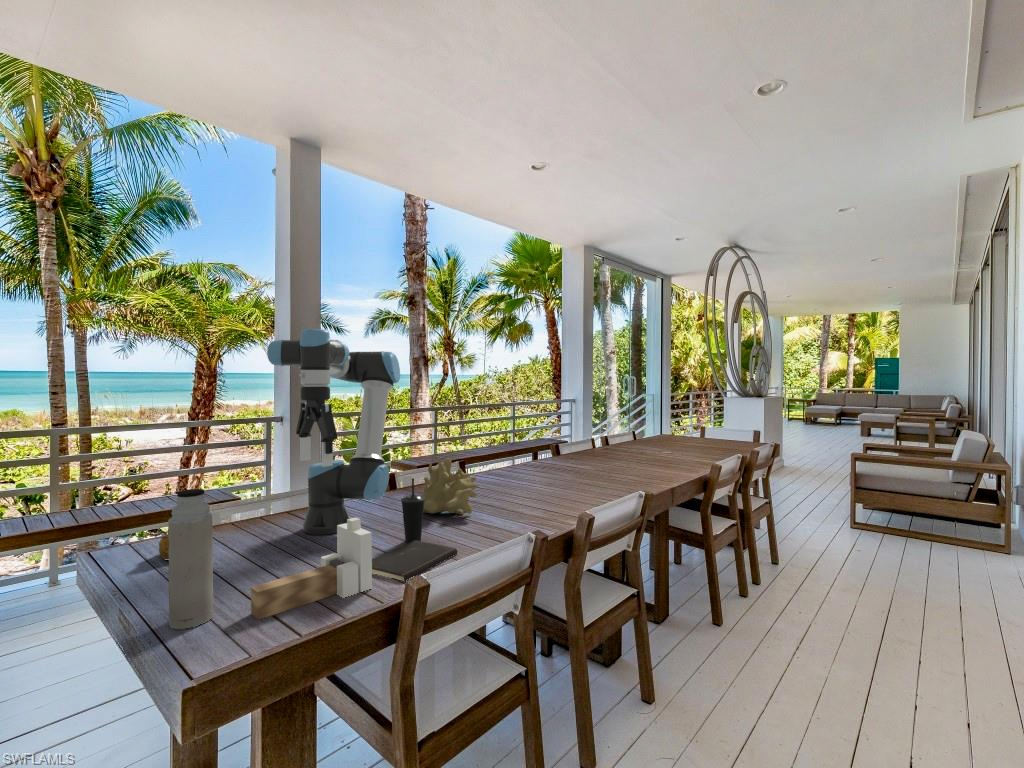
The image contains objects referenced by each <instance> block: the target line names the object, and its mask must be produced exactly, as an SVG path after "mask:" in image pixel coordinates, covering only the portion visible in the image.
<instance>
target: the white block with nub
mask: <svg viewBox="0 0 1024 768" xmlns="http://www.w3.org/2000/svg"><path fill="white" fill-rule="evenodd" d="M361 519H362V518H359V517H352V518H349V519H347V523H345V524H341V525H337V533H336V537H337V538H336V548H337V549H336V550H337V551H336V552H337V553H336V552H333V553H331V554H327V555H322V556H321V557H320V567H323V566H326V565H330V561H331V560H335V559H339V560H341V561H343V562H344V564H341V565H338V566H337V594H336V595H337V596H338V595H339V596H340V597H339V596H338V597H339V598H341V597H342V598H341V599H343V598H344V599H346V598H345V597H347V598H349V597H352V596H355V595H357V593H358V594H359V593H360V592H363V591H365V592H367V591H366V590H368V591H370V590H369V589H371V590H373V574H372V559H373V549H372V548H373V545H372V544H373V543H372V542H373V540H372V539H373V538H372V537H373V534H372V533H373V532H371V531H369V530H367V529H364V528H362V527H361V522H362V521H361ZM363 593H364V592H363ZM354 594H355V595H354ZM351 595H352V596H351ZM348 596H349V597H348Z"/></svg>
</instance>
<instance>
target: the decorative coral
mask: <svg viewBox="0 0 1024 768" xmlns="http://www.w3.org/2000/svg"><path fill="white" fill-rule="evenodd" d="M452 459H453V458H452V457H448V458H446V459H445V460H444V461H442V462H441V461H439V462H438V463H437V464H436V465H435V466H434V467H433V464H432V463H429V464H428V465H429V466H428V468H427V471H428V474H429V477H428V476H425V477H424V478H423V481H424V486H423V487H424V488H423V493H422V495H421V496H423V497H425V500H424V510H423V514H436V513H441V512H442V513H443V512H447V513H454V514H457V515H461V516H463V515H464V514H465V513H466V514H472V513H473V506H472V505H471V504H470V502H469V499H470V498H474V499H475V498H476V497H477V493H476V492H475V491H474V489H477V488H478V487H479V484H477V483H474V482H475V481H476V480H477V479H478V478H477V477H476V476H472V477H470V476H471V474H470V473H468V472H464V471H463V469H461V468H458V470H457V472H454V473H453V472H452V471H451V468H452Z"/></svg>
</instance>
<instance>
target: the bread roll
mask: <svg viewBox="0 0 1024 768" xmlns="http://www.w3.org/2000/svg"><path fill="white" fill-rule="evenodd" d="M158 554H159V556H160V558H161V559H169V546H168V534H166V535H164V536H163V537H161V538H160V540H159V542H158Z"/></svg>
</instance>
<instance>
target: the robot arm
mask: <svg viewBox="0 0 1024 768" xmlns="http://www.w3.org/2000/svg"><path fill="white" fill-rule="evenodd" d="M266 356H267V360H268V361H269V362H270V364H272V365H273V366H280V367H285V366H290V367H294V368H300V373H299V377H300V384H301V385H302V386H301V387H300V400H301V401H305V402H301V403H300V412H299V416H298V422H297V425H296V431H295V433H296V435H298V437H299V460H300V462H302V461H303V462H304V461H311V459H312V458H311V456H312V455H311V454H312V453H311V452H312V451H311V450H312V449H311V448H312V447H311V445H312V443H311V439H312V438H311V437H312V435H311V431H312V428H313V426H314V424H315V423H317V426H318V429H319V432H320V435H321V440H320V442H321V462H318V463H313V464H312V465H310V466H309V468H308V471H307V472H308V473H307V483H308V484H307V487H308V488H307V489H308V490H307V491H308V492H307V493H308V495H307V497H308V498H307V499H308V508H307V512H306V514H305V518H304V521H303V525H302V531H304V532H305V534H306V533H308V534H307V535H311V534H314V535H313V536H324V535H331V534H333V535H334V534H337V525H341V524H345V523H347V519H350V518H349V514H348V511H347V510H346V506H345V500H366V501H369V500H378V499H380V498H381V497H382V496H384V494H385V492H386V491H387V488H388V484H389V479H390V469H389V466H387V465H386V464H385V463H386V461H385V459H384V458H383V457H382V450H383V442H384V433H385V423H386V415H387V407H388V398H389V393H390V392H392V391H393V389H394V384H397V383H399V382H400V378H401V368H400V367H401V366H400V363H399V360H398V357H397V355H396V354H395V353H394V352H392V351H384V350H382V351H351V352H350V349H349V346H348V345H346V343H344V342H343V341H340V340H338V339H331V336H330V332H329V330H327V329H323V328H321V329H320V328H308V329H307V328H305V329H303V330H301V332H300V338H299V339H278V340H273V341H271V342H269V343H268V345H267V352H266ZM331 378H332V379H336V380H341V381H344V382H348V383H349V382H350V383H356V384H357V383H359V384H360V387H361V388H362V389H363V397H362V405H361V412H360V418H359V428H358V435H357V442H356V450H355V454H354V455H353V456H351V457H350V460H349V464H345V463H346V462H345V461H344V460H343V459H334V443H333V442H334V441H335V440H338V439H339V438H338V437H339V436H338V434H337V433H338V432H337V429H336V425H335V421H334V416H333V411H332V404H331V403H326V401H329V400H331V388H330V386H329V385H330V384H331ZM304 532H303V533H304Z"/></svg>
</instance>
